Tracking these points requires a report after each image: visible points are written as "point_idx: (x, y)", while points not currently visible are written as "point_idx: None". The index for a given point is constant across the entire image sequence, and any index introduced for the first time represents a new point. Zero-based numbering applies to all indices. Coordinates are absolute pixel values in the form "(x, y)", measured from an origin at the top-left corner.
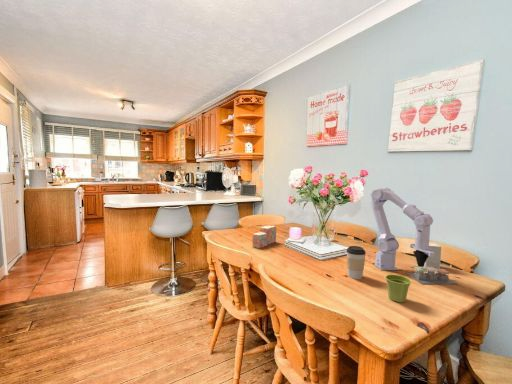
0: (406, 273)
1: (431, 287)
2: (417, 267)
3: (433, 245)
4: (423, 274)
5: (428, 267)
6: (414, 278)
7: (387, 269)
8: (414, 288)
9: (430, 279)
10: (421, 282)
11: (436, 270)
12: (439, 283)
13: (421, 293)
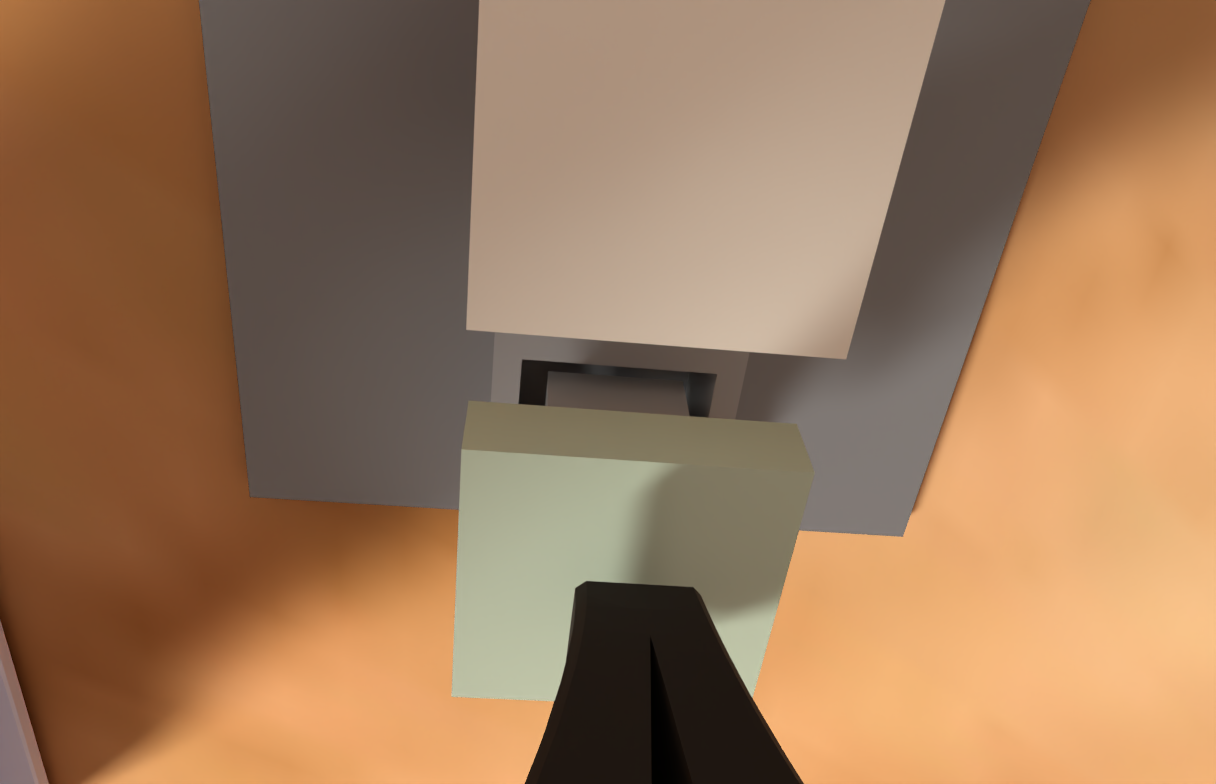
0: (254, 495)
1: (1097, 436)
2: (551, 646)
3: None
4: (643, 363)
5: (588, 238)
6: None
7: (32, 753)
8: (1001, 744)
9: None
10: (853, 511)
11: (916, 56)
12: (1057, 90)
13: (1194, 752)
